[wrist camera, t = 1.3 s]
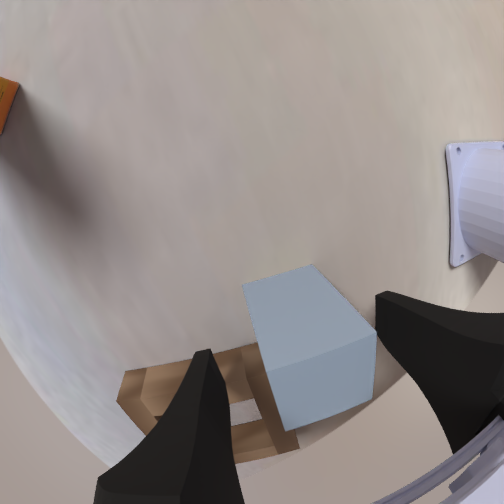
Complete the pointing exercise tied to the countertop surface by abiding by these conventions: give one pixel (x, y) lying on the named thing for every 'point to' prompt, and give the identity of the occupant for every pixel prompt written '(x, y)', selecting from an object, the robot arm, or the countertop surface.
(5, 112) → the supplement box
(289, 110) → the countertop surface
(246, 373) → the walnut holder
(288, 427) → the peg
